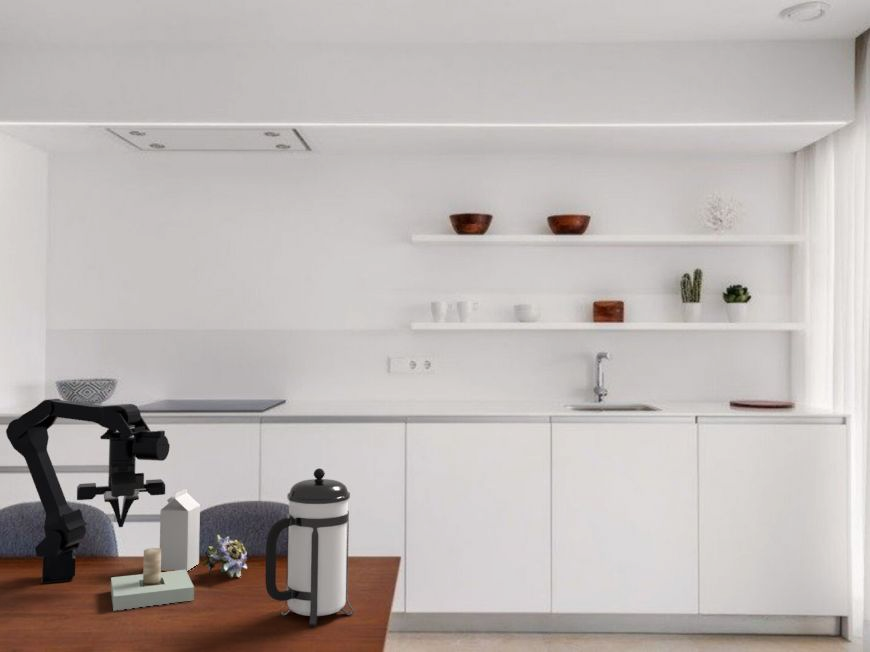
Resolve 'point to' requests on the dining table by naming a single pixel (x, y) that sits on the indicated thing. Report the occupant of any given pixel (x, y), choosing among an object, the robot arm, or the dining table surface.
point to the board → (151, 590)
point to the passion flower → (227, 556)
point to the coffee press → (313, 549)
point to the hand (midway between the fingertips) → (120, 526)
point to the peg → (152, 567)
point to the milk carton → (180, 532)
